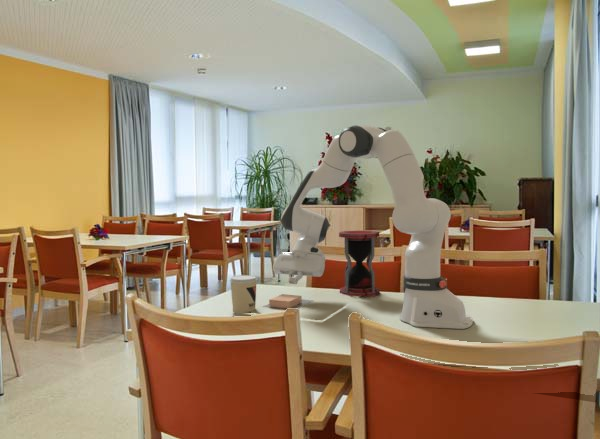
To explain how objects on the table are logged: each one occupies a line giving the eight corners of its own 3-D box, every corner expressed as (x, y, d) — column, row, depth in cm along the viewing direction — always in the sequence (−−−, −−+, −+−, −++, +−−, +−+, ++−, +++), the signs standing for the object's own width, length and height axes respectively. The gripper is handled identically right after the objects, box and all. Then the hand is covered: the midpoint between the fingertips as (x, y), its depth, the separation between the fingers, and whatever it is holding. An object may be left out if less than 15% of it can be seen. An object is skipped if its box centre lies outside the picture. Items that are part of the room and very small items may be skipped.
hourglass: (361, 299, 195) (360, 234, 193) (331, 293, 207) (330, 232, 205) (387, 293, 206) (387, 231, 204) (357, 287, 218) (357, 229, 216)
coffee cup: (253, 314, 174) (252, 280, 174) (227, 313, 176) (226, 279, 176) (260, 308, 184) (259, 275, 183) (235, 307, 186) (235, 274, 185)
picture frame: (301, 295, 187) (289, 301, 178) (301, 302, 188) (289, 309, 179) (282, 294, 191) (269, 299, 182) (282, 301, 191) (269, 306, 182)
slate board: (313, 302, 191) (313, 300, 191) (294, 312, 177) (294, 310, 177) (283, 299, 197) (283, 297, 197) (262, 308, 183) (262, 306, 182)
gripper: (276, 247, 200) (265, 276, 192) (324, 249, 191) (314, 279, 183) (282, 257, 204) (270, 285, 196) (329, 259, 196) (319, 289, 188)
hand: (292, 283), depth 190 cm, fingers closed
